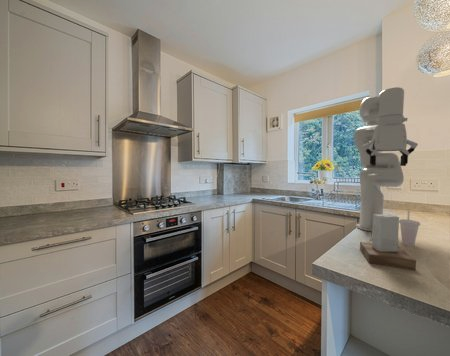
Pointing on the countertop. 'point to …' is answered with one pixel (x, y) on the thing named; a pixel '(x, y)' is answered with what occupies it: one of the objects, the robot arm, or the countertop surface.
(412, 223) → the smoothie
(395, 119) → the robot arm
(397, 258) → the podium
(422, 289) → the countertop surface
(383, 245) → the skincare box
